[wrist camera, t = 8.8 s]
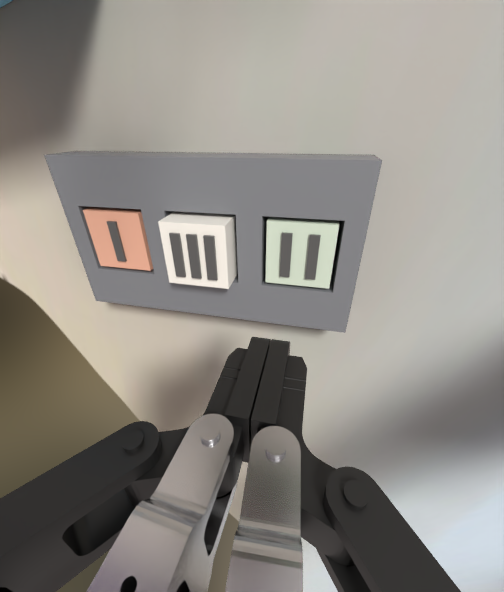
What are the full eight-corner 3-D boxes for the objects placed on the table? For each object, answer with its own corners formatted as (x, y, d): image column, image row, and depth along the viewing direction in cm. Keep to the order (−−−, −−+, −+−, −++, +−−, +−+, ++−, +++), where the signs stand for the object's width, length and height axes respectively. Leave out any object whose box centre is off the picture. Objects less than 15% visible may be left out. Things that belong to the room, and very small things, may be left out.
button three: (237, 212, 20) (224, 226, 18) (239, 270, 23) (227, 290, 20) (177, 209, 21) (156, 222, 18) (185, 265, 23) (168, 283, 21)
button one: (158, 203, 23) (136, 214, 20) (167, 256, 25) (149, 271, 22) (108, 200, 24) (80, 210, 21) (122, 251, 26) (98, 266, 23)
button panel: (374, 154, 18) (382, 160, 15) (343, 310, 24) (345, 332, 22) (76, 151, 22) (44, 154, 19) (116, 284, 28) (96, 300, 26)
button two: (337, 212, 20) (339, 226, 17) (328, 270, 23) (329, 290, 20) (273, 209, 21) (266, 221, 18) (271, 265, 23) (265, 283, 21)
